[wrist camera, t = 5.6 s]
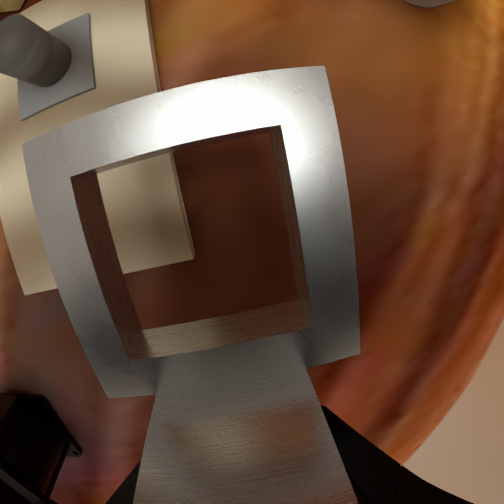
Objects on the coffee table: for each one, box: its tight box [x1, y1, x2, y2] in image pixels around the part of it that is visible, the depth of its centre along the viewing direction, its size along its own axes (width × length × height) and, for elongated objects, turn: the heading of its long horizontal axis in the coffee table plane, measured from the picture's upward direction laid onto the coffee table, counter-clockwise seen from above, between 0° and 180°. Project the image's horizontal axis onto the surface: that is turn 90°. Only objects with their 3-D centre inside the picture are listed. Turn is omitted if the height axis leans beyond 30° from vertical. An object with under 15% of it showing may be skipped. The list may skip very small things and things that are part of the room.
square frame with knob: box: [22, 66, 360, 504], centre depth 6 cm, size 11×7×6 cm, turn 11°
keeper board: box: [0, 0, 195, 295], centre depth 10 cm, size 16×10×6 cm, turn 11°
